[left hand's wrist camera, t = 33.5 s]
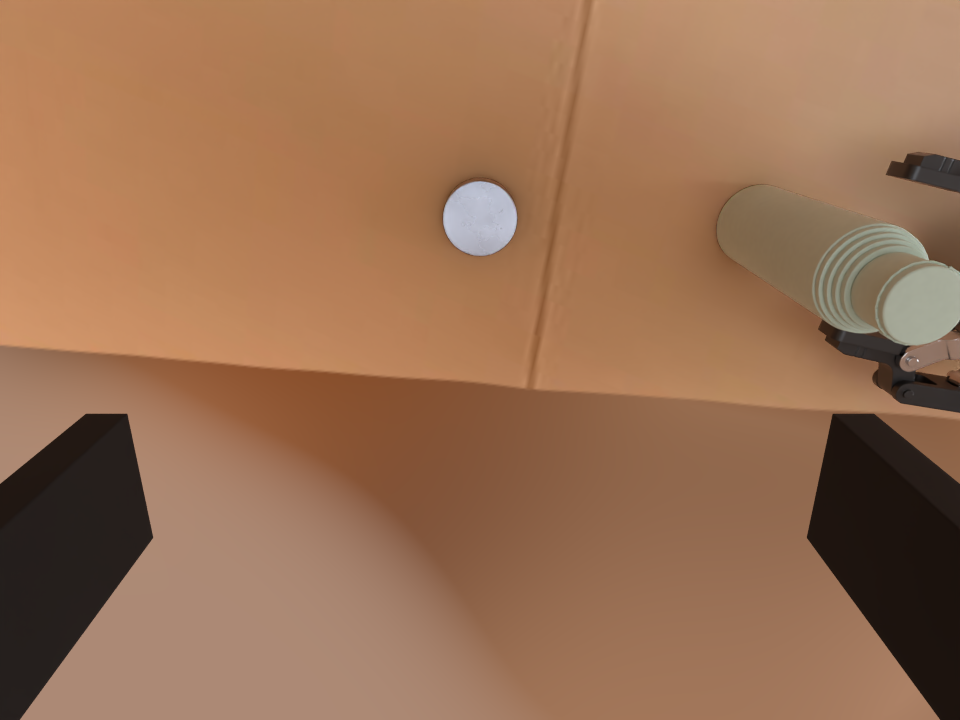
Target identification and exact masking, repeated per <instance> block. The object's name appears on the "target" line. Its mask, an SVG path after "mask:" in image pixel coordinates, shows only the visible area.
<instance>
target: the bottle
mask: <svg viewBox="0 0 960 720" xmlns="http://www.w3.org/2000/svg"><path fill="white" fill-rule="evenodd" d="M716 233H717V239H718V243H719V245H720V247H721V249H722V250H723V252H724V253H725V254H726V255H727V256H728V257H729V258H731V259H732V260H734V261H735V262H737V263H738V264H740V265H741V266H743V267H744V268H746V269H747V270H749V271H750V272H752V273H753V274H755V275H756V276H758V277H759V278H761V279H762V280H764V281H765V282H767V283H768V284H770V285H771V286H773V287H774V288H776V289H777V290H779V291H780V292H782V293H783V294H785V295H786V296H788V297H789V298H791V299H792V300H794V301H795V302H797V303H798V304H800V305H801V306H803V307H804V308H806V309H807V310H809V311H810V312H812V313H813V314H815V315H816V316H818V317H819V318H821V319H822V320H824V321H825V322H827V323H828V324H830V325H832V326H834V327H835V328H838V329H840V330H844V331H848V332H853V333H872V332H877V331H879V333H880V334H882V335H883V336H885V337H887V338H888V339H890V340H892V341H893V342H895V343H899V344H903V345H916V346H917V345H922V344H927V343H931V342H933V341H936V340H938V339H940V338H942V337H943V336H945V335H946V334H947V333H949V332H950V331H951V330H952V329H953V328H954V327H955V326H956V324H957V323H958V322H959V320H960V272H959V271H957V270H956V269H954V268H953V267H951V266H949V267H948V266H947V265H945V264H943V263H940V262H937V261H933V260H929V259H928V255H927V253H926V250H925V248H924V247H923V245H922V244H921V243H920V241H919V240H918V239H917V238H915V237H914V236H913V235H912V234H911V233H910V232H908V231H907V230H905V229H903V228H901V227H899V226H896V225H893V224H890V223H887V222H884V221H881V220H878V219H874V218H871V217H868V216H865V215H862V214H859V213H856V212H853V211H850V210H846V209H843V208H840V207H837V206H834V205H831V204H828V203H825V202H821V201H818V200H815V199H812V198H809V197H806V196H803V195H800V194H797V193H793V192H790V191H787V190H784V189H781V188H778V187H775V186H771V185H763V184H762V185H754V186H750V187H747V188H745V189H742V190H741V191H739V192H737V193H736V194H735V195H733V196H732V197H731V198H730V199H729V200H728V201H727V203H726V204H725V205H724V207H723V208H722V210H721V212H720V214H719V217H718V221H717V228H716Z"/></svg>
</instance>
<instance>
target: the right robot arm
mask: <svg viewBox="0 0 960 720" xmlns="http://www.w3.org/2000/svg"><path fill="white" fill-rule="evenodd" d="M886 175H889V176H893V177H897V178H901V179H905V180H909V181H913V182H917V183H921V184H925V185H929V186H933V187H937V188H941V189H945V190H949V191H954V192H958V193H960V160H956V159H952V158H948V157H944V156H940V155H936V154H929V153H921V152H916V153H910V154H907V156H906V158H905V161H904V163H901V162H895V161H892V162H891V164H890V166H889V168H888V171H887V173H886ZM818 329H819V330H820V331H821V332H823V333H824V334H826V335H827V337H826V339H825V341H827V342H828V343H829V344H831V345H832V346H833V347H835V348H836V349H838V350H839V351H840V352H842V353H843V354H846V355H850V356H855V357H859V358H863V359H868V360H872V361H876V362H879V369H878V370H876V371H875V373H874V374H873V377H872V380H873V383H874V384H875V385H877V386H878V387H879V388H881V389H883V390H885V391H886V392H887V393H889V394H890V395H892V397H893V398H894V399H896V400H897V401H898V402H900V403H903V404H909V405H915V406H921V407H927V408H934V409H940V410H946V411H953V412H959V413H960V370H957V371H953V370H952V371H949V372H948V374H947V377H945V376H939V375H932V374H926V373H920V372H915V371H916V370H917V369H920V368H923V367H925V366H928V365H931V364H933V363H936V362H939V361H941V360H945V359H950V360H958V359H960V320H959V322H958V323H957V324H956V326H955V327H954V328H953V329H952V330H951V331H950V332H949V333H947V334H946V335H945V336H943V337H942V338H940V339H938V340H936V341H933V342H931V343H927V344H922V345H917V346H916V345H903V344H899V343H895V342H893V341H892V340H890V339H888V338H887V337H885V336H883V335H882V334H880V333H879V331H877V332H872V333H853V332H848V331H844V330H840V329H838V328H835V327H834V326H832V325H830V324H828V323H827V322H825V321H824V320H822V322H821V324H820V326H819V328H818ZM955 329H956V330H957V331H953V330H955Z"/></svg>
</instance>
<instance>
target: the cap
mask: <svg viewBox="0 0 960 720" xmlns="http://www.w3.org/2000/svg"><path fill="white" fill-rule="evenodd" d="M443 226H444V230H445V233H446V235H447V237H448V239H449V240H450V242H451V243H452V244H453V245H454V246H455V247H456V248H457V249H459V250H460V251H462V252H464V253H466V254H469V255H474V256H487V255H491V254H494V253H496V252H498V251H500V250H501V249H503V248H504V247H505V246H506V245H507V244H508V243H509V242H510V240H511V239H512V237H513V235H514V233H515V230H516V227H517V210H516V207H515V204H514V201H513V198H512V196H511V195H510V193H509V192H508V191H507V189H506V188H505V187H503V186H502V185H501V184H499V183H498V182H496V181H494V180H491V179H487V178H473V179H469V180H466V181H464V182H462V183H461V184H459V185H458V186H457V187H456V188H454V190H453V191H452V192H451V193H450V195H449V197H448V199H447V201H446V204H445V207H444V211H443Z"/></svg>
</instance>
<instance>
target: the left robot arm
mask: <svg viewBox="0 0 960 720" xmlns="http://www.w3.org/2000/svg"><path fill="white" fill-rule="evenodd" d="M152 539H153V535H152V530H151V525H150V520H149V516H148V511H147V506H146V501H145V496H144V492H143V487H142V482H141V477H140V472H139V468H138V463H137V458H136V453H135V449H134V444H133V439H132V434H131V429H130V425H129V420H128V415H127V414H85V415H84V416H83V417H82V418H80V419H79V420H78V421H77V422H75V423H74V424H73V425H72V426H71V427H69V428H68V429H67V430H66V431H64V432H63V433H62V434H61V435H60V436H58V437H57V438H56V439H55V440H53V441H52V442H51V443H50V444H49V445H47V446H46V447H45V448H44V449H42V450H41V451H40V452H39V453H38V454H36V455H35V456H34V457H33V458H31V459H30V460H29V461H28V462H27V463H25V464H24V465H23V466H22V467H20V468H19V469H18V470H17V471H16V472H14V473H13V474H12V475H11V476H9V477H8V478H7V479H6V480H5V481H3V482H2V483H1V484H0V720H20V719H21V717H22V716H23V714H24V713H25V712H26V710H27V709H28V708H29V706H30V705H31V704H32V702H33V701H34V700H35V698H36V697H37V695H38V694H39V693H40V691H41V690H42V689H43V687H44V686H45V685H46V683H47V682H48V680H49V679H50V678H51V676H52V675H53V674H54V672H55V671H56V669H57V668H58V667H59V665H60V664H61V663H62V661H63V660H64V659H65V657H66V656H67V655H68V653H69V652H70V650H71V649H72V648H73V646H74V645H75V644H76V642H77V641H78V640H79V638H80V637H81V635H82V634H83V633H84V631H85V630H86V629H87V627H88V626H89V624H90V623H91V622H92V620H93V619H94V618H95V616H96V615H97V614H98V612H99V611H100V610H101V608H102V607H103V605H104V604H105V603H106V601H107V600H108V599H109V597H110V596H111V595H112V593H113V592H114V590H115V589H116V588H117V586H118V585H119V584H120V582H121V581H122V580H123V578H124V577H125V575H126V574H127V573H128V571H129V570H130V569H131V567H132V566H133V565H134V563H135V562H136V560H137V559H138V558H139V556H140V555H141V554H142V552H143V551H144V550H145V548H146V547H147V545H148V544H149V543H150V541H151V540H152ZM807 539H808V540H809V541H810V543H811V544H812V545H813V547H814V548H815V550H816V551H817V552H818V554H819V555H820V556H821V558H822V559H823V560H824V562H825V563H826V565H827V566H828V567H829V569H830V570H831V571H832V573H833V574H834V575H835V577H836V578H837V580H838V581H839V582H840V584H841V585H842V586H843V588H844V589H845V590H846V592H847V593H848V595H849V596H850V597H851V599H852V600H853V601H854V603H855V604H856V605H857V607H858V608H859V610H860V611H861V612H862V614H863V615H864V616H865V618H866V619H867V620H868V622H869V623H870V625H871V626H872V627H873V629H874V630H875V631H876V633H877V634H878V635H879V637H880V638H881V640H882V641H883V642H884V644H885V645H886V646H887V648H888V649H889V650H890V652H891V653H892V655H893V656H894V657H895V659H896V660H897V661H898V663H899V664H900V665H901V667H902V668H903V669H904V671H905V672H906V673H907V675H908V676H909V678H910V679H911V680H912V682H913V683H914V685H915V686H916V687H917V689H918V690H919V691H920V693H921V694H922V695H923V697H924V698H925V700H926V701H927V702H928V704H929V705H930V706H931V708H932V709H933V710H934V712H935V713H936V715H937V716H938V717H939V719H940V720H960V484H959V483H958V482H957V481H955V480H954V479H953V478H952V477H951V476H949V475H948V474H947V473H946V472H944V471H943V470H942V469H941V468H940V467H938V466H937V465H936V464H935V463H933V462H932V461H931V460H930V459H929V458H927V457H926V456H925V455H924V454H922V453H921V452H920V451H919V450H918V449H916V448H915V447H914V446H913V445H911V444H910V443H909V442H908V441H907V440H905V439H904V438H903V437H902V436H900V435H899V434H898V433H897V432H896V431H894V430H893V429H892V428H891V427H889V426H888V425H887V424H886V423H885V422H883V421H882V420H881V419H880V418H878V417H877V416H876V415H875V414H833V415H832V420H831V425H830V429H829V434H828V439H827V444H826V449H825V453H824V458H823V463H822V468H821V473H820V477H819V482H818V487H817V492H816V496H815V501H814V506H813V511H812V515H811V520H810V525H809V530H808V535H807Z"/></svg>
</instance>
